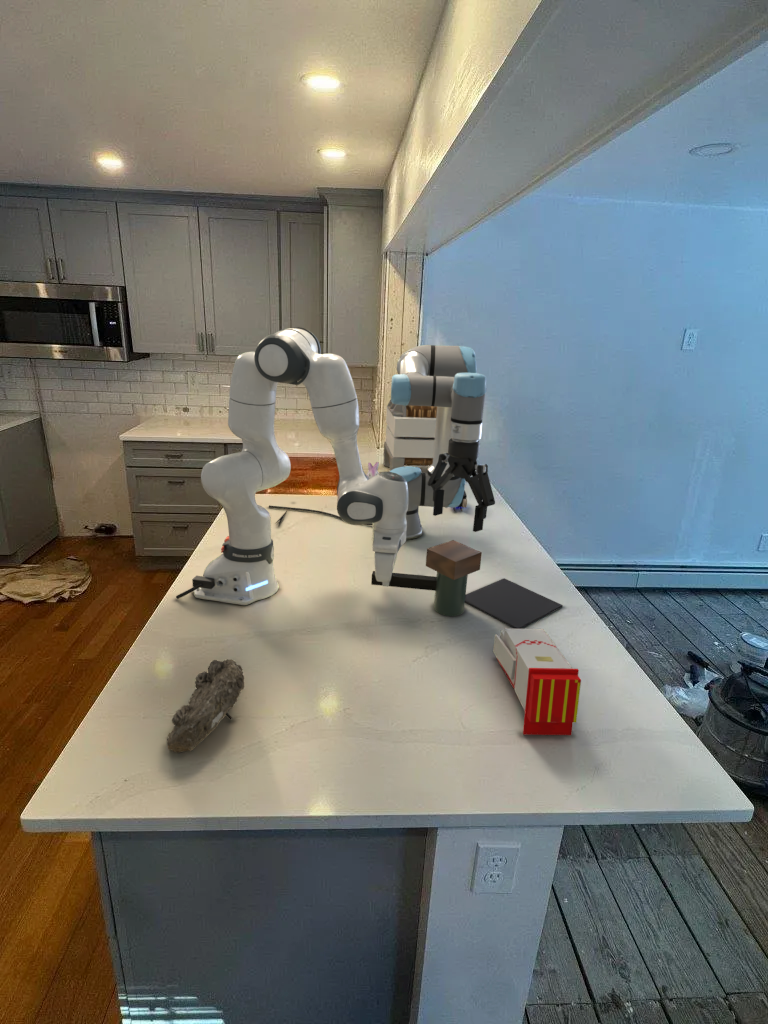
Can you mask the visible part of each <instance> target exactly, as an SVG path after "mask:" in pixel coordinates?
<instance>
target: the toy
mask: <svg viewBox="0 0 768 1024" xmlns="http://www.w3.org/2000/svg"><path fill="white" fill-rule="evenodd" d="M499 632H500V633H499V634H496V633H495V635H494V641H493V649H492V653H493V654H494V655H495V657H496V658H495V659H496V660H497V662H498V663H499V665H500V668H501V670H502V671H503V672H504V674H505V676H506V678H507V680H508V681H509V683H510V685H511V686H512V688H513V689H514V693H515V694H516V696H517V698H518V701H519V702H520V704H521V706H522V708H523V711H524V719H523V728H522V734H523V735H524V736H525V735H527V736H572V733H573V725H574V723H577V718H578V711H579V702H580V694H581V693H580V692H581V686H582V685H581V684H582V679H581V677H580V676H579V671H580V670H579V669H578V668H573V667H572V665H571V664H570V663H569V662H568V660H567V659H566V657H565V656H564V654H562V652H561V650H560V649H559V648H558V646H557V645H556V644H555V643H554V641H553V640H552V639H551V637H550V636H549V634H548V633H547V631H546V630H545V629H544V628H521V629H515V628H512V627H509V628H508V627H507V628H506V627H505V628H504V629H501V630H500V631H499Z"/></svg>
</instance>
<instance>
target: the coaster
mask: <svg viewBox="0 0 768 1024" xmlns="http://www.w3.org/2000/svg"><path fill="white" fill-rule="evenodd" d="M465 604H467V605H469V606H471V607H473V608H474V609H477V610H478V611H481V612H482V613H484V614H486V615H488V616H489V617H492V618H493V619H495V620H497V621H499V622H501V623H502V624H505V625H507V626H509V628H515V629H524V628H525V627H527V626H529V625H531V624H533V623H535V622H537V621H538V620H540V619H543V618H544V617H546V616H548V615H550V614H552V613H554V612H556V611H558V610H559V609H562V608H563V604H561V603H559V602H557V601H554V600H553V599H551V598H548V597H546V596H543V595H542V594H539V593H537V592H535V591H533V590H531V589H529V588H526V587H524V586H522V585H519V584H517V583H516V582H514V581H511V580H509V579H507V578H502V579H500V580H497V581H495V582H492V583H490V584H488V585H485V586H483V587H480V588H478V589H476V590H473V591H470V592H468V593H466V596H465Z"/></svg>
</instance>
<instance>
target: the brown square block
mask: <svg viewBox="0 0 768 1024" xmlns="http://www.w3.org/2000/svg"><path fill="white" fill-rule="evenodd" d="M482 554H483V551H480V550H478V549H475V548H473V547H470V546H469V545H466V544H463V543H461V542H459V541H456V540H454V539H452V540H449V541H446V542H443V543H440V544H436V545H434V546H430V547H428V548H426V554H425V555H426V556H425V567H427V568H429V569H430V570H433V571H435V572H436V573H437V572H439V573H441V574H443V575H445V576H447V577H449V578H451V579H453V580H455V579H458V578H460V577H463V576H465V575H468V576H469V575H470V574H472V573H476V572H478V571H480V570H481V566H482V565H481V564H482V557H483V555H482Z"/></svg>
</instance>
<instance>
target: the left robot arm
mask: <svg viewBox="0 0 768 1024" xmlns="http://www.w3.org/2000/svg"><path fill="white" fill-rule="evenodd" d="M321 351H322V350H321V343H320V341H319V339H318V337H317V336H316V335H315V334H314V333H313V332H312V331H311V330H309V329H307V328H305V327H300V326H295V327H289V328H282V329H280V330H278V331H276V332H274V333H271V334H268V335H266V336H265V337H264V338H262V339H261V340H260V341H259V343H258V344H257V346H256V348H255V351H246V352H243V353H240V354H239V355H238V356H237V357H236V359H235V361H234V364H233V368H232V373H231V376H230V385H229V395H228V413H227V417H228V418H227V426H228V429H229V430H230V432H231V433H232V434H233V435H235V436H236V437H237V438H239V439H241V441H242V449H241V451H239V452H234V453H230V454H229V453H228V454H225V455H221V456H219V457H216V458H214V459H212V460H210V461H208V462H206V463H205V464H204V465H203V467H202V469H201V473H200V482H201V486H202V488H203V491H204V492H205V493H206V494H207V495H208V496H209V497H210V498H211V499H213V500H214V501H216V502H218V503H219V504H220V505H221V507H222V508H223V511H224V513H225V516H226V519H227V529H228V535H227V536H226V537H225V538H224V542H223V543H222V546H221V548H220V553H221V554H220V555H218V556H217V557H216V558H214V559H212V560H211V561H210V562H209V563H208V564H207V565H206V567H205V569H204V571H203V573H202V575H195V576H194V577H193V578H192V580H191V581H192V587H190V588H189V589H187V590H185V591H183V592H181V593H179V594H176V596H175V598H176V599H177V600H179V599H181V598H183V597H185V596H187V595H189V594H190V593H193V596H194V597H195V598H196V599H202V600H209V601H213V602H214V601H215V602H221V603H227V604H233V605H241V606H247V605H250V604H252V603H254V602H257V601H260V600H265V599H267V598H269V597H271V596H273V595H275V594H276V593H277V592H278V591H279V587H280V586H279V583H278V579H277V577H276V573H275V567H274V566H275V565H274V559H275V545H274V540H273V538H272V515H271V514H270V512H269V511H268V509H267V508H266V507H264V506H262V505H259V504H258V503H257V500H256V493H258V492H261V491H265V490H268V489H271V488H272V489H273V488H274V487H276V486H278V485H280V484H282V483H283V482H284V481H286V480H287V479H288V478H289V476H290V474H291V469H292V466H291V465H292V464H291V460H290V457H289V455H288V454H287V453H286V452H285V451H284V450H283V448H281V447H280V446H279V444H278V442H277V438H276V434H275V417H276V402H277V401H276V400H277V389H278V385H279V384H287V385H293V386H299V385H301V384H302V385H303V386H304V387H305V389H306V392H307V394H308V398H309V403H310V407H311V411H312V415H313V418H314V421H315V424H316V427H317V429H318V431H319V433H320V434H321V435H322V436H323V438H325V439H327V440H328V442H329V443H330V445H331V447H332V449H333V453H334V457H335V462H336V466H337V470H338V475H339V476H338V482H337V488H336V511H337V514H338V516H340V518H341V519H340V520H342V521H343V522H344V523H346V524H348V525H351V526H362V525H363V524H370V523H373V525H372V529H371V530H372V531H371V532H372V533H371V540H372V552H374V571H375V576H376V580H377V581H379V582H382V585H383V586H382V587H390V586H389V584H390V580H391V576H392V573H394V568H395V565H396V561H397V558H398V553H399V551H400V549H401V547H402V546H403V545H404V544H405V543H406V542H407V540H406V531H407V520H406V513H407V510H408V485H407V482H406V480H405V479H404V478H403V477H402V476H401V475H398V474H396V473H393V472H390V471H380V472H379V471H378V474H377V475H376V476H374V477H373V478H371V479H369V478H368V477H367V476H366V475H367V473H365V471H364V469H363V465H362V460H361V455H360V450H359V446H358V432H359V428H360V407H359V400H358V396H357V391H356V388H355V383H354V380H353V376H352V375H351V372H350V369H349V367H348V366H349V365H348V364H347V362H346V360H345V359H344V358H343V357H342V356H340V355H339V354H336V353H322V352H321Z"/></svg>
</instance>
